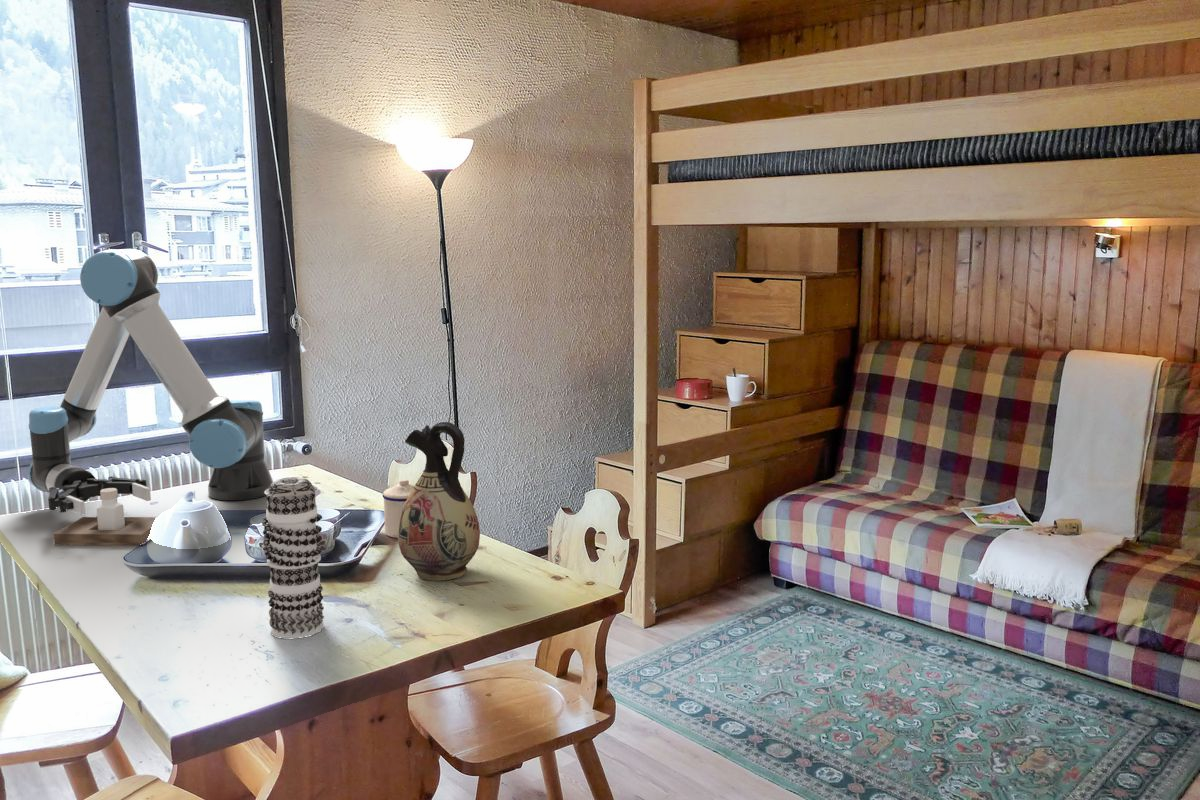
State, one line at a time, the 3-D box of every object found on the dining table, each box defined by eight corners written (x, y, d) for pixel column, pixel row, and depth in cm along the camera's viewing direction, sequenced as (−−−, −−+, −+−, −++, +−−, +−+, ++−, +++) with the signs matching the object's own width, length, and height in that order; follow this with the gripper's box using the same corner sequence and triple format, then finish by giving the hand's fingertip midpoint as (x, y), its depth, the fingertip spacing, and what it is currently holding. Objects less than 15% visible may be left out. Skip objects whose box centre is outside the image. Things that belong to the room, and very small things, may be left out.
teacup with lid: (435, 532, 213) (434, 480, 211) (399, 541, 207) (397, 487, 205) (403, 520, 222) (402, 470, 220) (368, 529, 215) (366, 477, 213)
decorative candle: (304, 613, 169) (298, 470, 164) (337, 627, 163) (332, 480, 158) (256, 630, 162) (248, 481, 157) (289, 645, 156) (281, 491, 151)
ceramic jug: (381, 579, 185) (376, 422, 180) (431, 555, 199) (428, 408, 193) (455, 595, 177) (452, 431, 172) (503, 569, 191) (501, 417, 186)
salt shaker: (126, 531, 211) (123, 487, 209) (115, 536, 207) (111, 492, 205) (108, 530, 211) (105, 487, 209) (97, 535, 207) (93, 492, 206)
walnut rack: (167, 528, 215) (166, 517, 215) (142, 545, 203) (141, 534, 203) (83, 527, 215) (83, 516, 214) (54, 545, 203) (53, 533, 203)
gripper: (129, 489, 229) (175, 505, 216) (12, 512, 210) (54, 532, 197) (127, 457, 228) (173, 472, 214) (8, 477, 209) (51, 495, 195)
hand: (116, 501), depth 205 cm, fingers open, 13 cm apart
